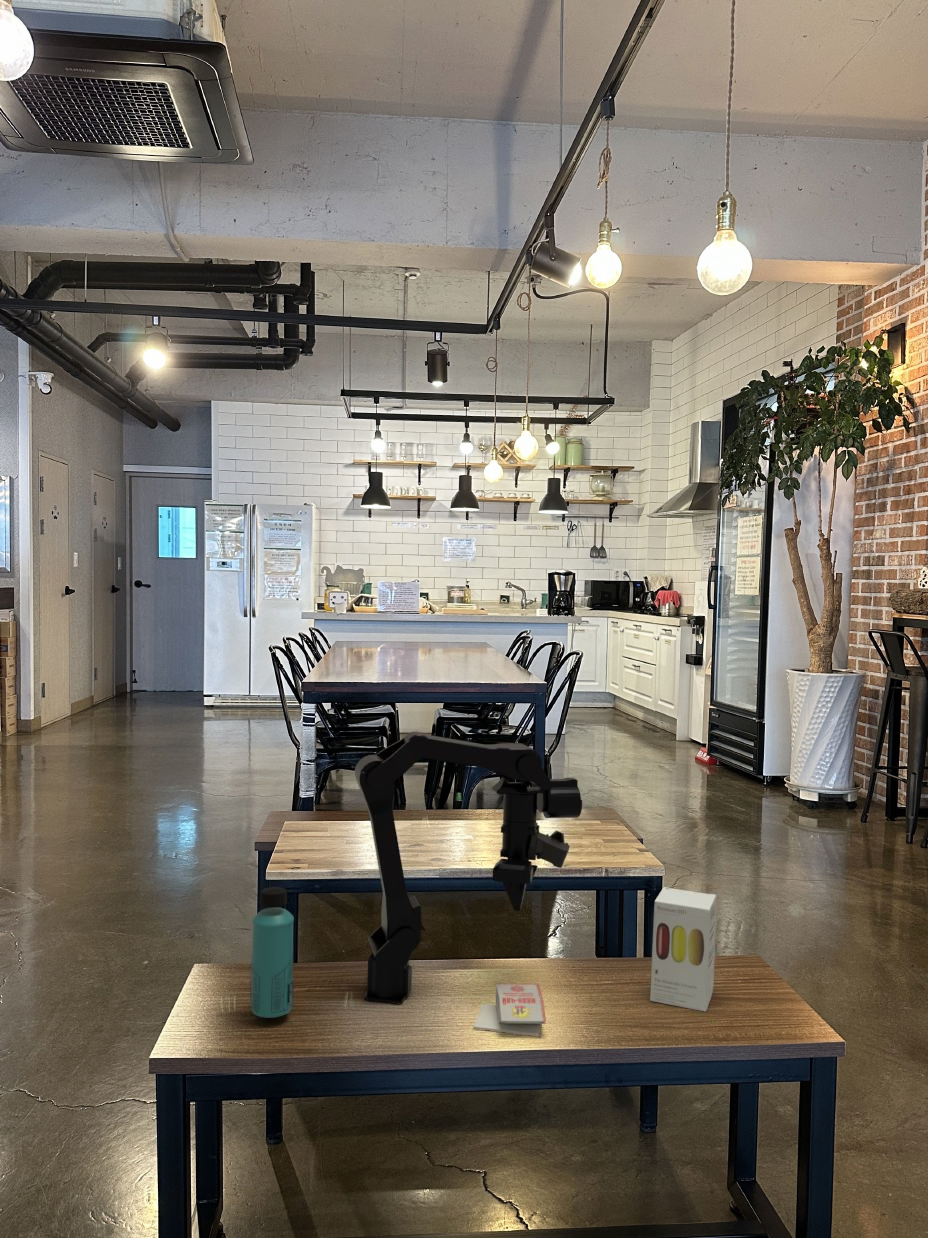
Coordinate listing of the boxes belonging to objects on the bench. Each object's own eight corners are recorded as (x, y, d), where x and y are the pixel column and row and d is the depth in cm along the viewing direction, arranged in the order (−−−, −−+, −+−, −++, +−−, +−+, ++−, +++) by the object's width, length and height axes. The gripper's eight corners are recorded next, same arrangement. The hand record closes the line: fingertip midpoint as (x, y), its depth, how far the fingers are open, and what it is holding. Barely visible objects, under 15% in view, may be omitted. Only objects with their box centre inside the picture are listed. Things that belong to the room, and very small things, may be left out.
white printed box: (537, 1006, 147) (545, 1035, 137) (495, 1006, 147) (501, 1035, 137) (538, 983, 147) (546, 1010, 137) (496, 983, 147) (501, 1010, 137)
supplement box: (648, 1002, 151) (651, 900, 151) (658, 981, 160) (661, 885, 160) (708, 1013, 147) (711, 909, 147) (714, 991, 156) (717, 893, 156)
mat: (473, 1029, 139) (473, 1026, 139) (482, 1006, 148) (482, 1003, 148) (538, 1037, 137) (538, 1034, 137) (544, 1013, 146) (544, 1010, 146)
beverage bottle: (292, 1027, 138) (296, 895, 138) (247, 1029, 137) (251, 896, 137) (293, 1008, 145) (296, 882, 144) (250, 1010, 143) (253, 883, 143)
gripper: (562, 835, 145) (559, 933, 145) (571, 810, 163) (568, 898, 163) (493, 830, 147) (490, 926, 147) (509, 806, 165) (506, 892, 166)
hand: (517, 910), depth 156 cm, fingers closed
